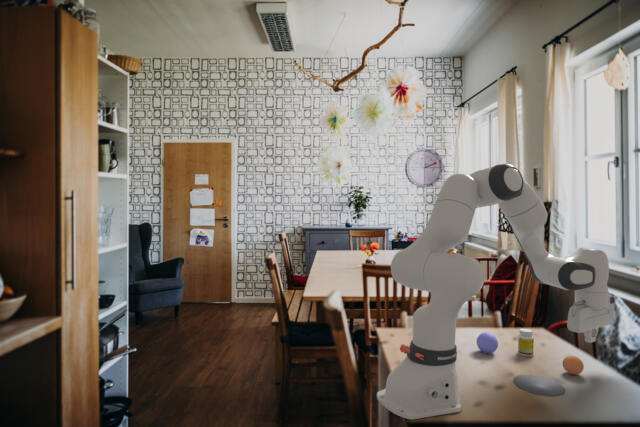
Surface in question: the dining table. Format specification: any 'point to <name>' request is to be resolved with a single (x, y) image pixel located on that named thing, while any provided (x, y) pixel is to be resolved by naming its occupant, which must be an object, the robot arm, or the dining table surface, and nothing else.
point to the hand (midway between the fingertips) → (590, 341)
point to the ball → (573, 365)
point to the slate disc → (539, 385)
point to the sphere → (487, 342)
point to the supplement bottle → (525, 342)
